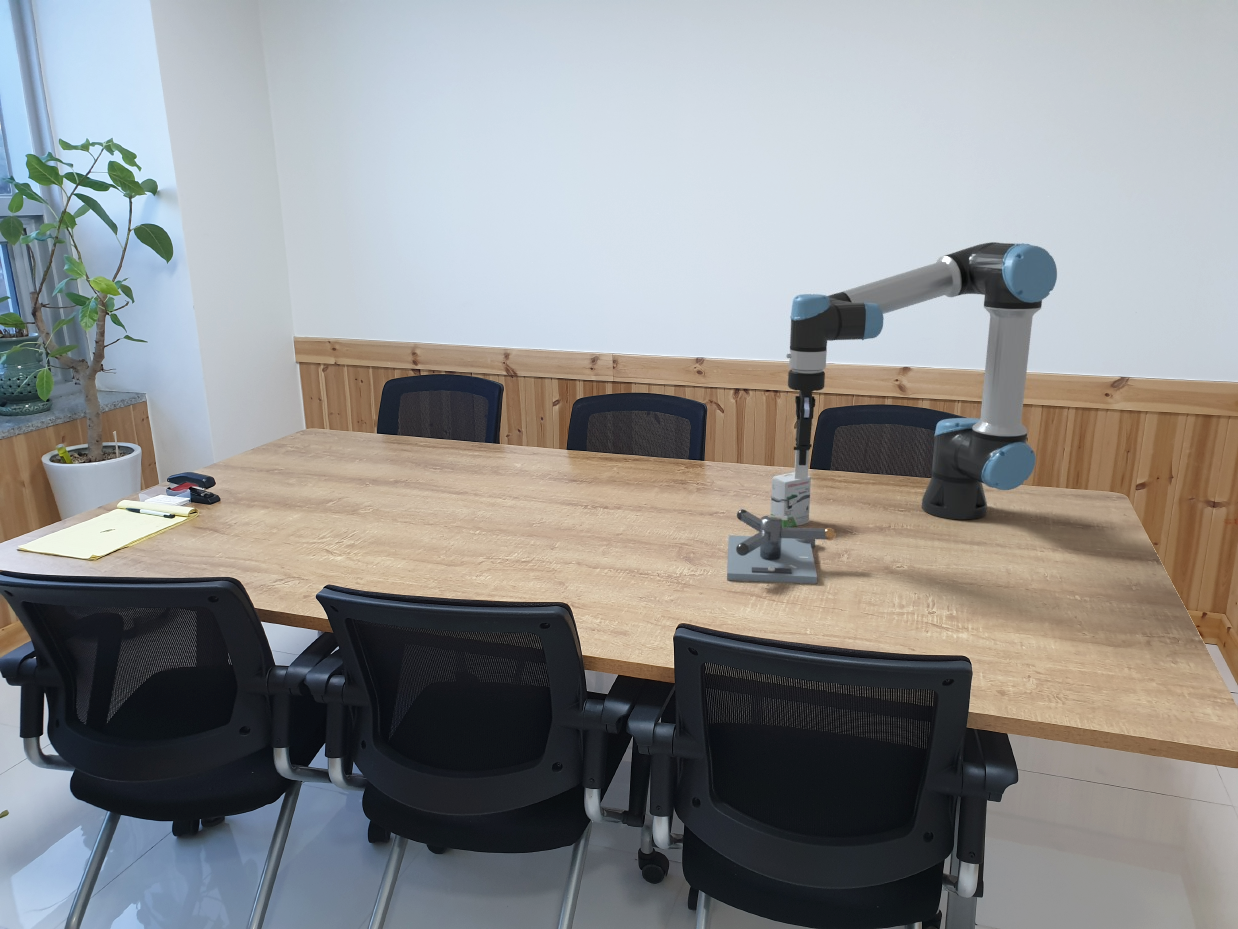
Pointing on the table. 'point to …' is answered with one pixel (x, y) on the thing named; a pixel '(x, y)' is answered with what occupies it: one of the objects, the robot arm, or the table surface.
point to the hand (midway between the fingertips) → (800, 478)
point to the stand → (773, 562)
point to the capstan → (775, 534)
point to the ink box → (791, 499)
